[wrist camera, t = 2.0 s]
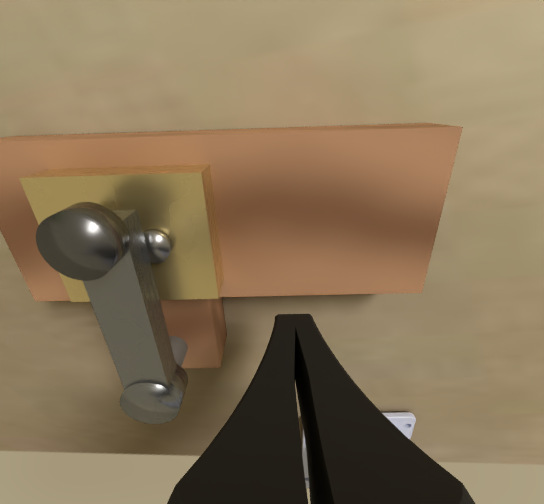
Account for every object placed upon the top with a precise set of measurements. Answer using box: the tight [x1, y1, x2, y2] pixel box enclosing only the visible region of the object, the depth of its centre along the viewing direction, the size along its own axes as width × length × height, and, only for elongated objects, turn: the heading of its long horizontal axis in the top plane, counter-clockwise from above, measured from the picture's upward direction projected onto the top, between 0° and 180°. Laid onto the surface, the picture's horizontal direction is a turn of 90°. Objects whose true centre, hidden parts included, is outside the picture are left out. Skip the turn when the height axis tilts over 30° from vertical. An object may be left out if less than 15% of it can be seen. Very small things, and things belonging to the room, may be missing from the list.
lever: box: [36, 202, 188, 424], centre depth 10 cm, size 10×2×2 cm, turn 2°
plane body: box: [0, 123, 463, 368], centre depth 13 cm, size 12×18×4 cm, turn 92°
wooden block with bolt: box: [19, 164, 224, 302], centre depth 11 cm, size 5×6×2 cm
